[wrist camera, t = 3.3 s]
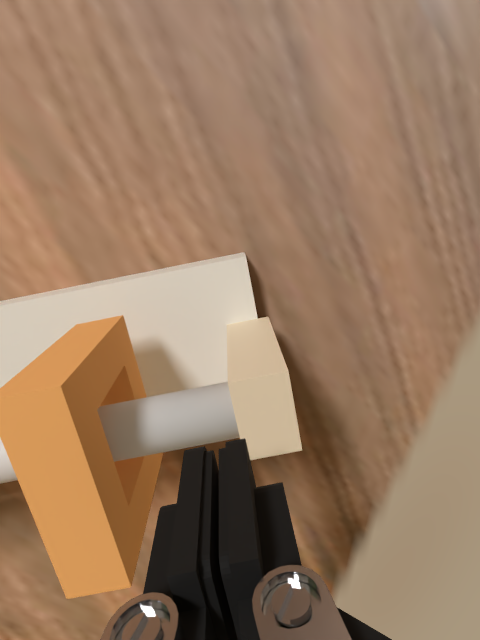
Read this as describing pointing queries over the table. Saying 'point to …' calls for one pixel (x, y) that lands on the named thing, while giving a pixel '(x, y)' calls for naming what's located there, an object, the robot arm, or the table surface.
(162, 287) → the rod stand
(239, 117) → the table surface
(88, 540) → the collar
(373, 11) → the table surface
